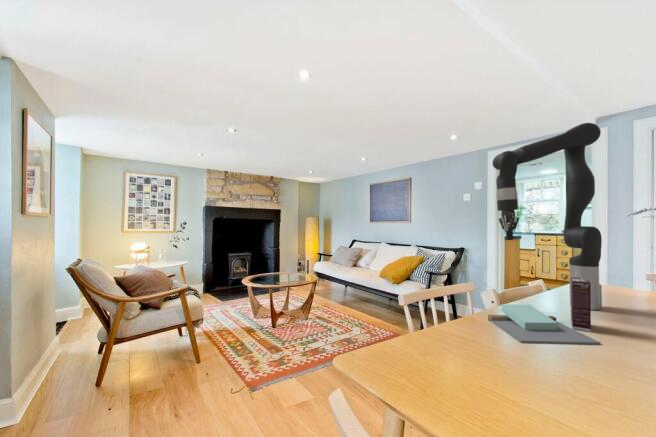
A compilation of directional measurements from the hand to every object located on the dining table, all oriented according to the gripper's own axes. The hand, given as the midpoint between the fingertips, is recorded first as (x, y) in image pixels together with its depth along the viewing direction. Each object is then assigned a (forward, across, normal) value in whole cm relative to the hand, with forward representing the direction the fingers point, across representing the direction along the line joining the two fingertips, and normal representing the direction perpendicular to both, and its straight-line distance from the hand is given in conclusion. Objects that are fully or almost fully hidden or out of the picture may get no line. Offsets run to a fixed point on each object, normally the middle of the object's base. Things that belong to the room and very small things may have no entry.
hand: (509, 239), depth 124 cm
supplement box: (+29, -24, -9) cm, 39 cm away
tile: (+24, -17, +7) cm, 30 cm away
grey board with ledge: (+28, -30, +7) cm, 41 cm away
